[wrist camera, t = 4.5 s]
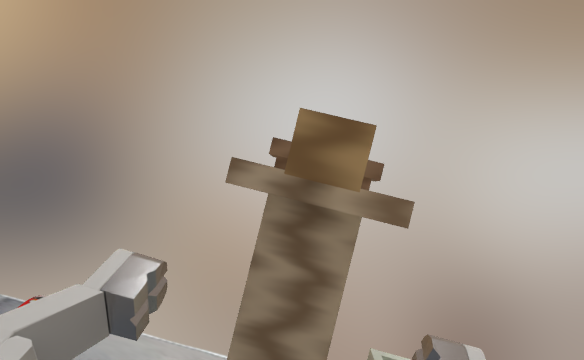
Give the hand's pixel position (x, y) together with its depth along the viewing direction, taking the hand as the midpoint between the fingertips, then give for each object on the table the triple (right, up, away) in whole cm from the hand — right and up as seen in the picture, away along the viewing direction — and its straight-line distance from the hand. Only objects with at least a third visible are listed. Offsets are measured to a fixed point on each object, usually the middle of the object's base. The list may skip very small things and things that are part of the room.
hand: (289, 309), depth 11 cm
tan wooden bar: (+2, +4, +16) cm, 16 cm away
